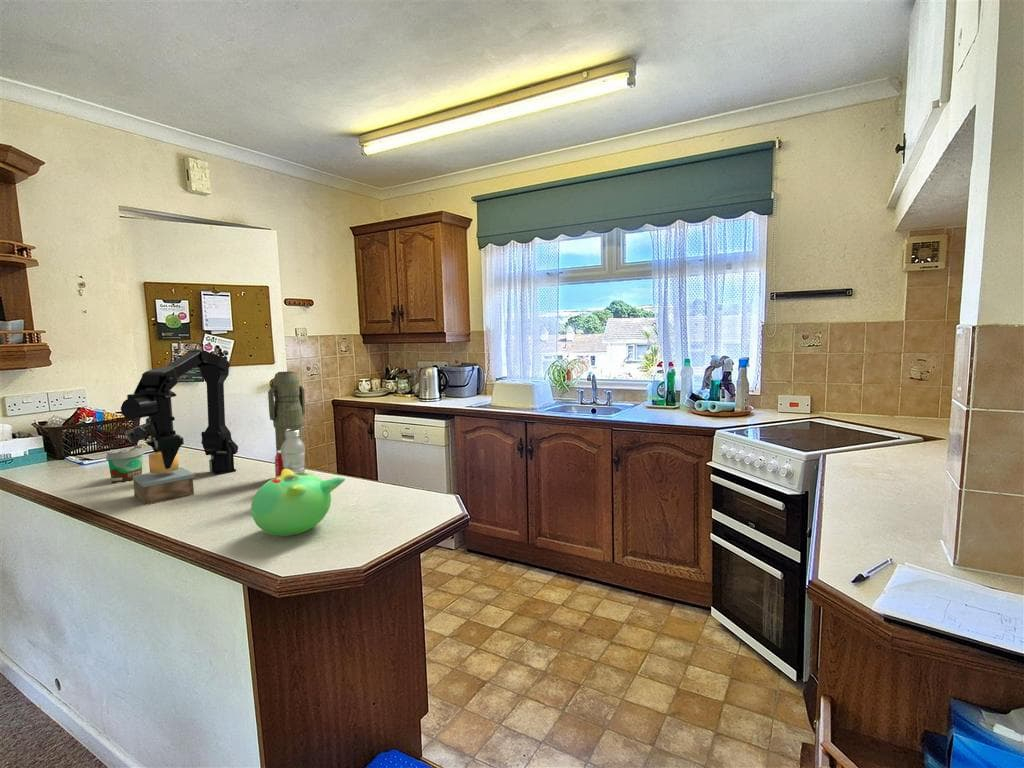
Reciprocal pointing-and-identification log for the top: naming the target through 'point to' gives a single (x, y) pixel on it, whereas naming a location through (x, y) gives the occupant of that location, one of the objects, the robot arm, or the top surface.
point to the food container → (125, 464)
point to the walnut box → (163, 491)
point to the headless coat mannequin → (286, 406)
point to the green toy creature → (292, 502)
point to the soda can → (278, 463)
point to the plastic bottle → (293, 451)
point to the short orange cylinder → (161, 463)
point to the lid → (162, 477)
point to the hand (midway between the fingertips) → (164, 466)
